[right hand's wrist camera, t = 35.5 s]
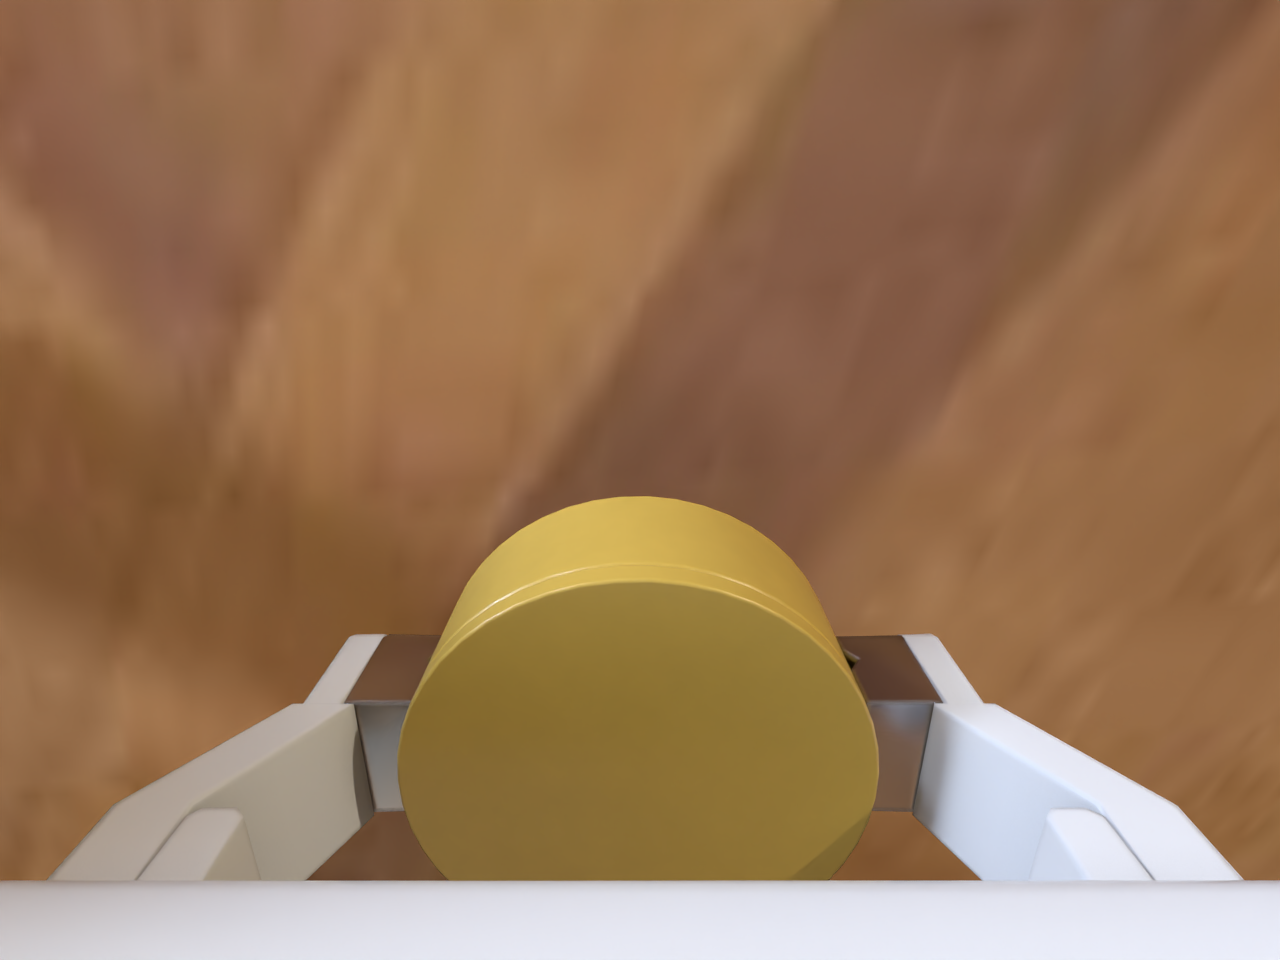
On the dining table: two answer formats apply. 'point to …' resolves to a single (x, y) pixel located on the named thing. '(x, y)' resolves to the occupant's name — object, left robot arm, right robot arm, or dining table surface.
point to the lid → (638, 709)
